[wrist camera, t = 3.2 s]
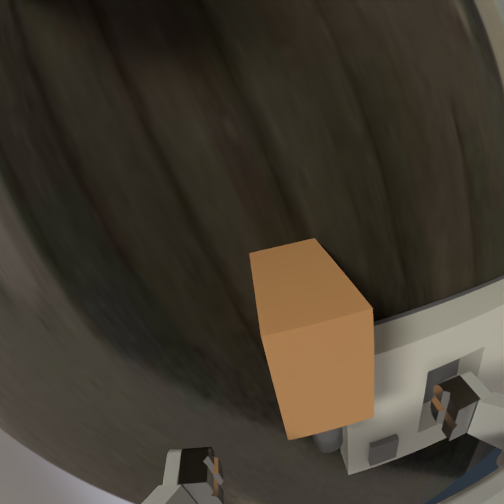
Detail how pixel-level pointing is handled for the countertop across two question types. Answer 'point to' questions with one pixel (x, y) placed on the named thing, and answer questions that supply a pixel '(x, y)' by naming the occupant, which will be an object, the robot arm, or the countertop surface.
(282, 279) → the plug
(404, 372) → the socket
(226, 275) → the countertop surface
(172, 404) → the countertop surface
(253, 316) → the countertop surface
